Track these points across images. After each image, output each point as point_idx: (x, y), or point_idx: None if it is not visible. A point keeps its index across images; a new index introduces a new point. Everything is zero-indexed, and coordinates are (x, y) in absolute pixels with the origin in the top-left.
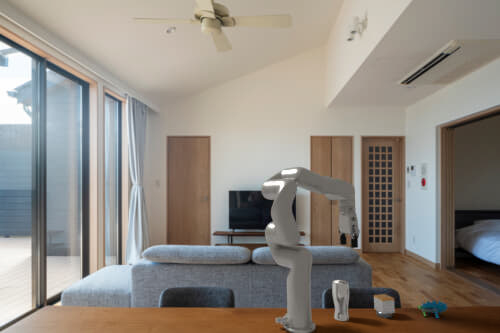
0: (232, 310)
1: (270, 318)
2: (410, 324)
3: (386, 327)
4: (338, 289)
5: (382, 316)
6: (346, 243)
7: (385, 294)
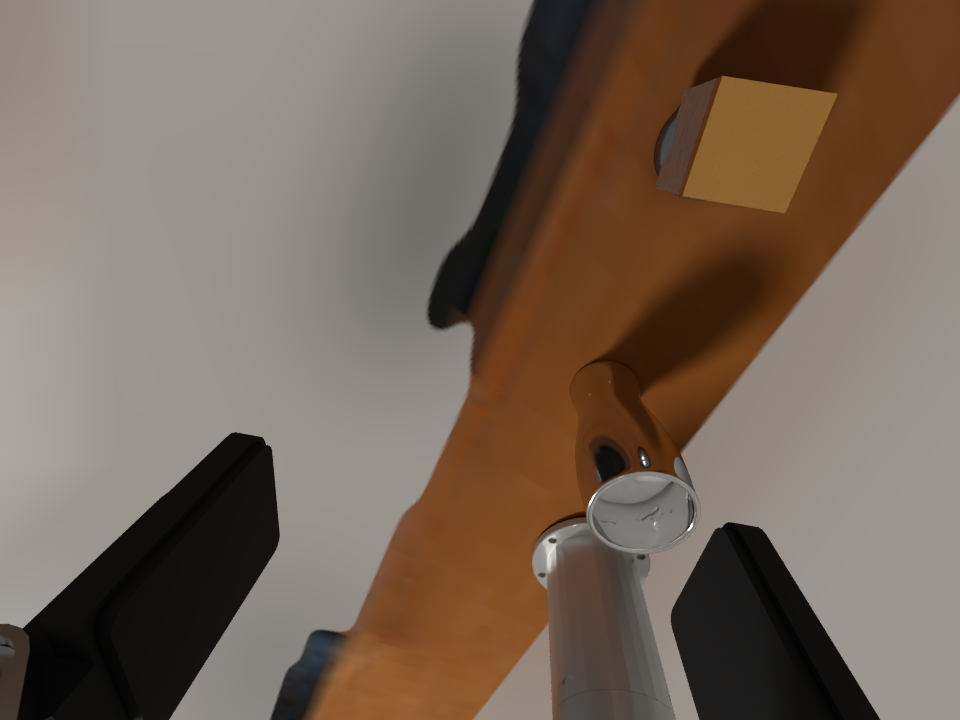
0: (375, 640)
1: (481, 589)
2: (885, 107)
3: (804, 277)
4: (660, 522)
5: None
6: (260, 452)
7: (731, 81)
